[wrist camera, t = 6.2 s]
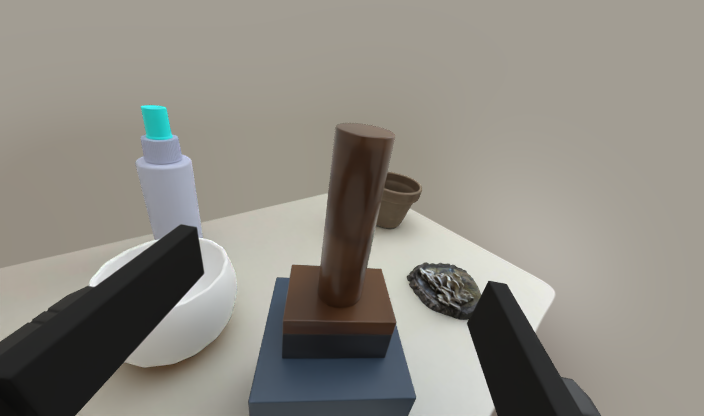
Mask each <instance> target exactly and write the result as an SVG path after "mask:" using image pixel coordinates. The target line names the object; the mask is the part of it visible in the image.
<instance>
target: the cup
mask: <svg viewBox="0 0 704 416" xmlns="http://www.w3.org/2000/svg"><path fill="white" fill-rule="evenodd" d="M158 240H160V239H158ZM158 240H153V241H149V242H146V243H143V244H141V245H138V246H136V247H133V248H130V249H128V250H125V251H124V252H122V253H120V254H119V255H117V256H116V257H114V258H112V259H111V260H109V261H108V262H106V263H105V264H104V265H103V266H102V267H101V268H100V269H99V270H98V271H97V273H96V274H95V275H94V276H93V277H92V278H91V279H90V281H89V286H92V287H95V286H96V285H98V284H99V283H101V282H102V281H103V280H105V279H106V278H107V277H109V276H110V275H112V274H113V273H114V272H116V271H117V270H118V269H120V268H121V267H123V266H124V265H125V264H127V263H128V262H129V261H131V260H132V259H134V258H135V257H136V256H138V255H139V254H140V253H142V252H143V251H144V250H146V249H147V248H149V247H150V246H151V245H153V244H154V243H155V242H157V241H158ZM199 242H200V249H201V255H202V261H203V267H204V273H205V274H204V275H203V276H202V277H201V278H200V279H199V280H198V281H197V282H196V283H195V285H194V286H193V287H192V288H191V289H190V290H189V291H188V292H187V293H186V294H185V296H184V297H183V298H182V299H181V300H180V301H179V302H178V303H177V304H176V305H175V307H174V308H173V309H172V310H171V311H170V312H169V313H168V314H167V315H166V316H165V318H164V319H163V320H162V321H161V322H160V323H159V324H158V325H157V326H156V327H155V329H154V330H153V331H152V332H151V333H150V334H149V335H148V336H147V337H146V338H145V340H144V341H143V342H142V343H141V344H140V345H139V346H138V347H137V348H136V349H135V351H134V352H133V353H132V354H131V355H130V356H129V357H128V358H127V359H126V360H125V361H124V362H125V363H129V364H133V365H136V366H140V367H153V366H161V365H169V364H175V363H177V362H179V361H182V360H184V359H186V358H189V357H191V356H193V355H196V354H197V353H198V352H199V351H201V350H202V349H203V348H205V347H206V346H207V345H208V344H210V343H211V342H212V341H214V340H215V339H216V338H217V337H218V336H219V334H220V333H221V332H222V330H223V329H224V327H225V326H226V325H227V323H228V322H229V320H230V317H231V314H232V311H233V308H234V304H235V299H236V294H237V281H236V273H235V270H234V268H233V266H232V263H231V261H230V259H229V257H228V255H227V253H226V251H225V249H224V248H223V247H221V246H219V245H218V244H216V243H215V242H213V241H212V240H208V239H203V238H199Z"/></svg>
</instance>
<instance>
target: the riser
mask: <svg viewBox="0 0 704 416" xmlns="http://www.w3.org/2000/svg"><path fill="white" fill-rule="evenodd" d="M289 280H290V278H279V277H277V278H276V282H275V287H274V291H273V296H272V300H271V304H270V309H269V313H268V318H267V322H266V326H265V331H264V335H263V339H262V344H261V348H260V353H259V357H258V361H257V366H256V370H255V375H254V379H253V383H252V388H251V392H250V397H249V401H248V405H249V416H408V414H409V412H410V410H411V408H412V406H413V404H414V402H415V400H416V395H415V392H414V388H413V384H412V381H411V377H410V373H409V370H408V366H407V363H406V359H405V355H404V352H403V348H402V344H401V341H400V337H399V334H398V330H397V326H395V329H394V332H393V334H392V338H391V341H390V344H389V347H388V350H387V353H386V356H385V358H293V359H283V358H282V333H283V332H282V331H283V316H284V310H285V304H286V298H287V292H288V286H289Z"/></svg>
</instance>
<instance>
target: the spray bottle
mask: <svg viewBox="0 0 704 416" xmlns="http://www.w3.org/2000/svg"><path fill="white" fill-rule="evenodd" d="M141 110H142V115H143V120H144V125H145V130H146V135H143V136H141V142H142V148H143V154H144V156H143V157H141V158H139V159H137V161H136V168H137V172H138V175H139V180H140V183H141V188H142V192H143V196H144V199H145V203H146V207H147V211H148V215H149V219H150V223H151V227H152V231H153V235H154V239H155V240H158V239H161V238H162V237H164V236H165V235H166V234H168V233H169V232H171V231H172V230H173V229H175V228H176V227H177V226H179V225H180V224H183V225H188V226H194V227H197V230H198V236H199V238H203V235H202V228H201V221H200V215H199V208H198V201H197V194H196V188H195V181H194V174H193V168H192V161H191V159H190V158H189V157H187V156H185V155H182V153H181V149H180V145H179V140H178V137H177V136H176V135H172V134H171V129H170V125H169V119H168V114H167V109H166V107H163V106H155V105H146V106H141Z"/></svg>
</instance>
